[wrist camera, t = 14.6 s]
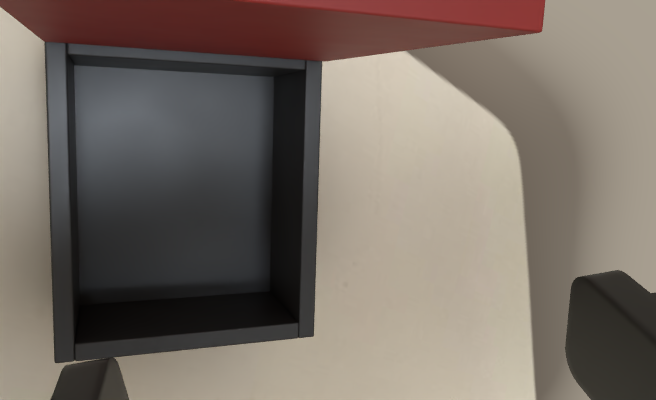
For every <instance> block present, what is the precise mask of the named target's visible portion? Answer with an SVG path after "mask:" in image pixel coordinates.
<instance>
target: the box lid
mask: <svg viewBox="0 0 656 400" xmlns="http://www.w3.org/2000/svg"><path fill="white" fill-rule="evenodd" d="M0 7H1V8H3V9H4V10H5V11H6V12H8V13H9V14H10V15H12V16H13V17H14V18H15V19H17V20H18V21H19V22H20V23H22V24H23V25H24V26H25V27H27V28H28V29H29V30H30V31H32V32H33V33H34V34H35V35H37V36H38V37H39V38H40V39H42V40H43V41H45V42H57V43H72V44H86V45H100V46H114V47H128V48H143V49H157V50H171V51H185V52H199V53H213V54H228V55H242V56H256V57H270V58H284V59H299V60H313V61H331V60H339V59H346V58H354V57H361V56H369V55H376V54H384V53H391V52H399V51H406V50H414V49H420V48H428V47H435V46H443V45H451V44H458V43H465V42H473V41H481V40H488V39H495V38H503V37H511V36H518V35H526V34H533V33H539V32H541V31H542V27H543V17H544V7H545V0H0Z"/></svg>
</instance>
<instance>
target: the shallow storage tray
mask: <svg viewBox="0 0 656 400" xmlns="http://www.w3.org/2000/svg"><path fill="white" fill-rule="evenodd" d="M45 71H46V103H47V135H48V167H49V199H50V231H51V263H52V295H53V328H54V360H55V363H62V362H72V361H83V360H92V359H102V358H111V357H121V356H131V355H140V354H150V353H160V352H169V351H179V350H189V349H198V348H208V347H217V346H227V345H237V344H246V343H256V342H266V341H275V340H285V339H294V338H298V337H299V338H304V337H313V336H314V312H315V279H316V245H317V212H318V179H319V145H320V112H321V79H322V61H313V60H299V59H284V58H270V57H256V56H242V55H228V54H213V53H199V52H185V51H171V50H157V49H143V48H128V47H114V46H100V45H86V44H72V43H57V42H45Z"/></svg>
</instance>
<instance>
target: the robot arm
mask: <svg viewBox="0 0 656 400" xmlns="http://www.w3.org/2000/svg"><path fill="white" fill-rule="evenodd" d="M565 350H566V358H567V362H568V365H569V368H570V371H571V373H572V375H573V377H574V379H575V380H576V382H577V383H578V384H579V386H580V387H581V388H582V389H583V390H584V392H585V393H586V394H587V395H588V396H589V398H590V399H591V400H656V293H650V292H648V291H647V290H646V289H645V288H643V287H642V286H641V285H640V284H638V283H637V282H636V281H635V280H633V279H632V278H631V277H630V276H628V275H627V274H626V273H624V272H622V271H619V270H616V271H610V272H605V273H599V274H593V275H587V276H582V277H577V278H576V279H575V280H574V281H573V283H572V286H571V294H570V304H569V314H568V325H567V335H566V347H565ZM51 400H129V398H128V395H127V391H126V388H125V384H124V381H123V378H122V374H121V371H120V368H119V365H118V362H117V361H116V359H115V358H113V357H111V358H105V359H99V360H94V361H88V362H82V363H77V364H71V365H66V366H65V367H64V368H63V369H62V371H61V374H60V376H59V379H58V382H57V384H56V387H55V390H54V393H53V395H52V398H51Z"/></svg>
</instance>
